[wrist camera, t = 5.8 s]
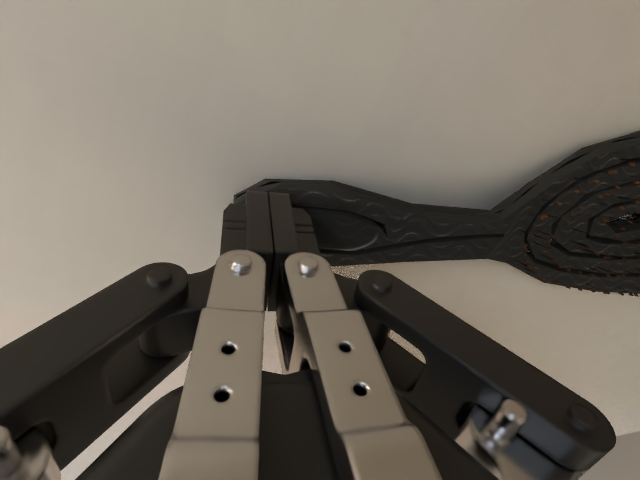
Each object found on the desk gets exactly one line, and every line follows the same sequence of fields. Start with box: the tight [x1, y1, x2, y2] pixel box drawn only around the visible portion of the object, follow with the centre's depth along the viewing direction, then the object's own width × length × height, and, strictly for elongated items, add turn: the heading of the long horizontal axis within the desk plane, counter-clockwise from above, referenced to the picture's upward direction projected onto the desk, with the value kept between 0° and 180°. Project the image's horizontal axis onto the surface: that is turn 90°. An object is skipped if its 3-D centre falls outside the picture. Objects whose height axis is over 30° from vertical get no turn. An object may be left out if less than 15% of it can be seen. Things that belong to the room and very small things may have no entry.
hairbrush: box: [234, 131, 640, 296], centre depth 16 cm, size 8×4×25 cm
